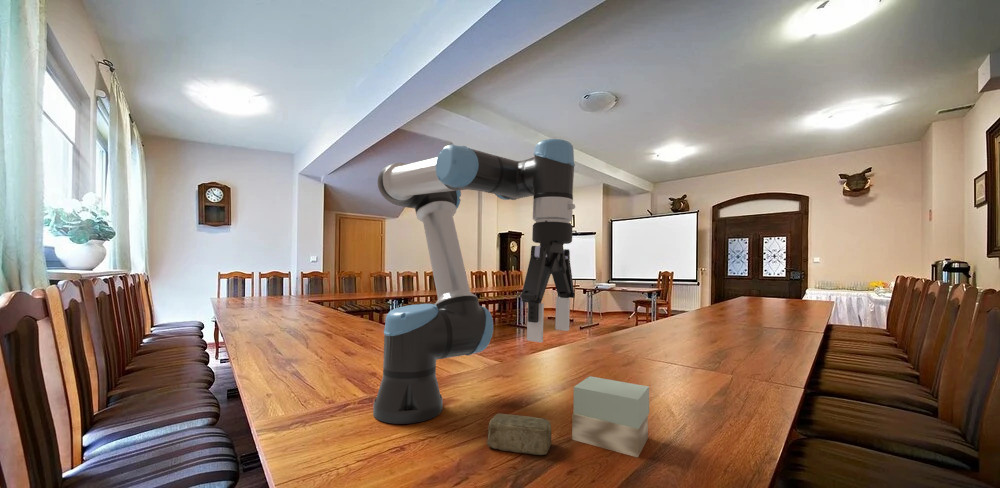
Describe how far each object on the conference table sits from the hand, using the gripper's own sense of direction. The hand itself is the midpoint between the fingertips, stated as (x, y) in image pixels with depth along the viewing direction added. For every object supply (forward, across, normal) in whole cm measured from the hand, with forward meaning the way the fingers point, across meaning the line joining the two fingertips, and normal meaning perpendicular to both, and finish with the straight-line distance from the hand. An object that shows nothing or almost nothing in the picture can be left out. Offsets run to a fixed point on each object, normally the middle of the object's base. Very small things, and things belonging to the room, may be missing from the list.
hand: (549, 335), depth 69 cm
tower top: (+15, +9, -10) cm, 20 cm away
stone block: (+20, -3, +4) cm, 21 cm away
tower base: (+20, +9, -10) cm, 24 cm away
